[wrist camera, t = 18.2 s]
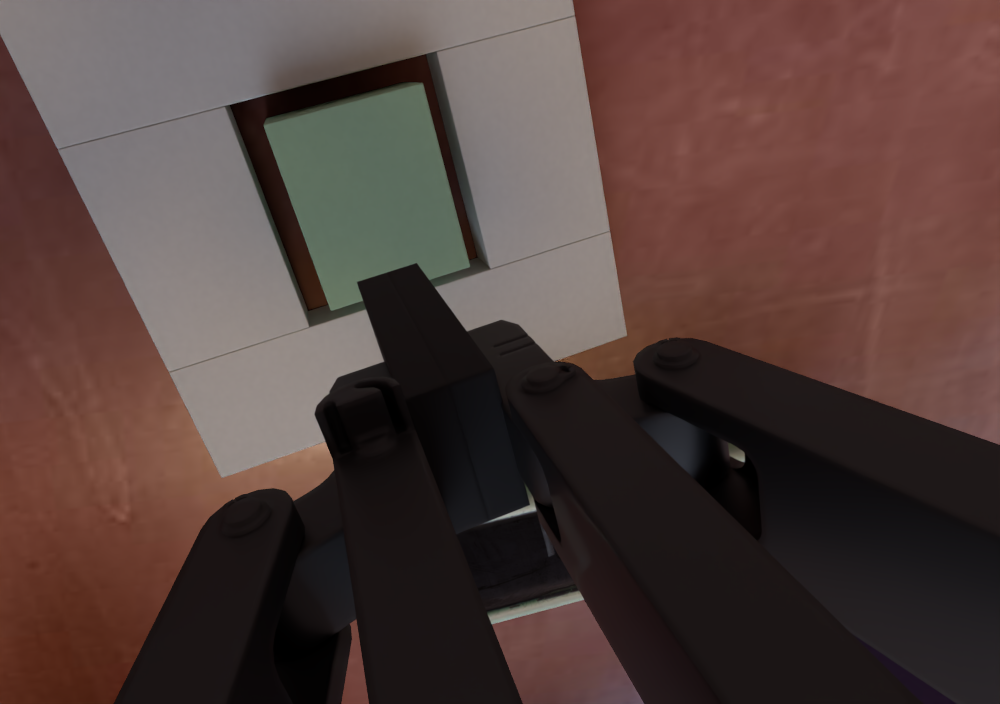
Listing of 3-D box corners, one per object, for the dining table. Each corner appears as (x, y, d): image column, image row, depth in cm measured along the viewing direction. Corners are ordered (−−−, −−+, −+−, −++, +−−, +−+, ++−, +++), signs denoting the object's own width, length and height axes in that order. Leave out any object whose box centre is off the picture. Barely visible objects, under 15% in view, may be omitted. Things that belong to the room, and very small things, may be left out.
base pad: (-3, -14, 26) (-29, -23, 24) (529, -130, 30) (549, -146, 27) (225, 453, 35) (221, 478, 33) (607, 321, 39) (627, 336, 37)
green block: (265, 118, 30) (262, 124, 26) (405, 81, 31) (422, 82, 27) (325, 283, 34) (330, 311, 30) (449, 245, 35) (470, 267, 31)
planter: (376, 562, 40) (394, 653, 34) (360, 459, 38) (376, 536, 31) (773, 469, 47) (850, 531, 41) (784, 375, 44) (869, 426, 38)
